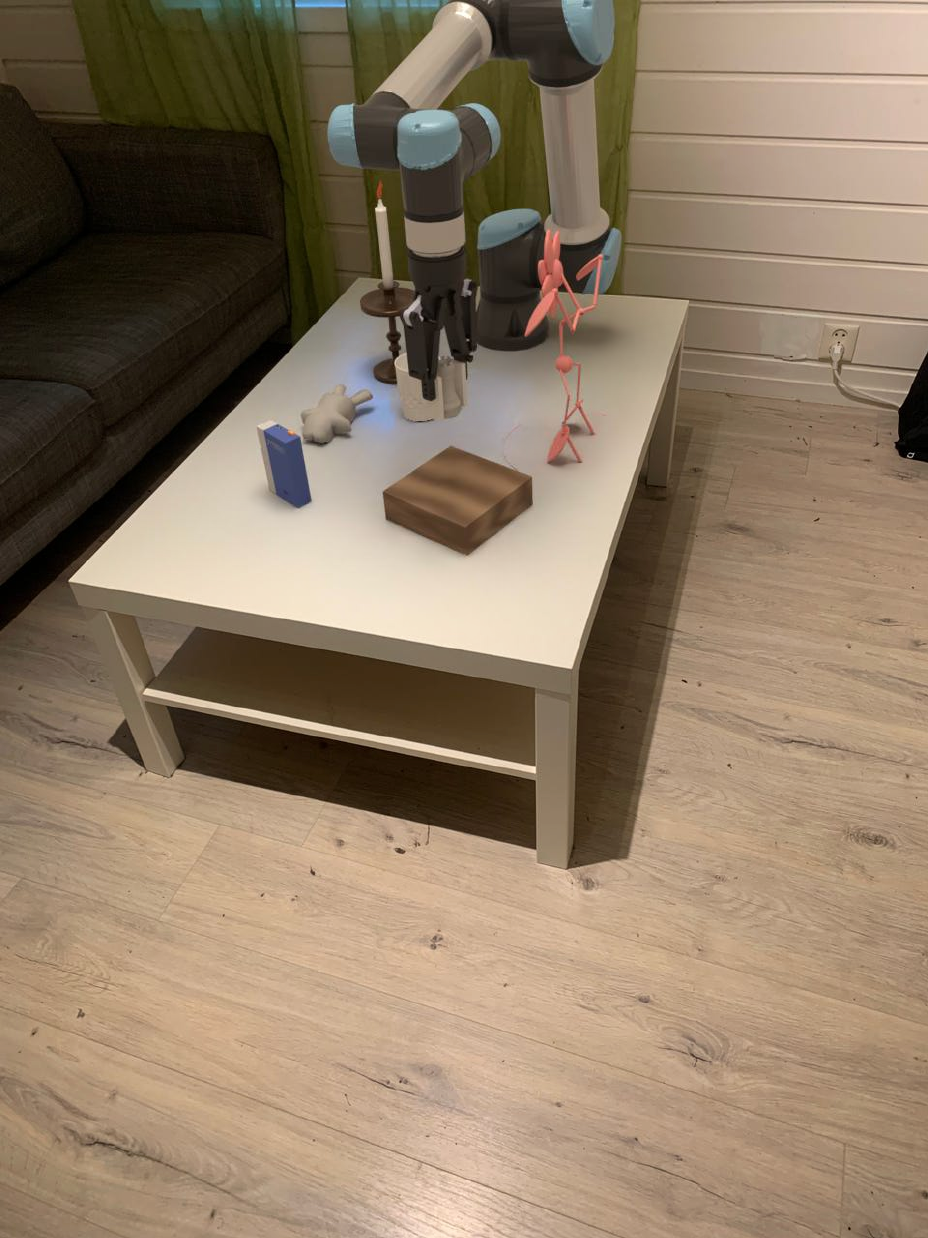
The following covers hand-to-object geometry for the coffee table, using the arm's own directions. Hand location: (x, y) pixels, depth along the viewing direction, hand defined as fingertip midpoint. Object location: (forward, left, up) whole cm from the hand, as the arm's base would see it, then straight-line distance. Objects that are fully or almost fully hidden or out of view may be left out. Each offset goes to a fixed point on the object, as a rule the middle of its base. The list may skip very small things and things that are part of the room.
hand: (447, 410), depth 143 cm
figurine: (-24, 0, -17) cm, 30 cm away
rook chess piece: (0, 0, 0) cm, 0 cm away
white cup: (-20, -24, -17) cm, 36 cm away
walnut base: (0, +1, -17) cm, 17 cm away
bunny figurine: (-8, -34, -17) cm, 39 cm away
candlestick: (-29, -38, -17) cm, 51 cm away
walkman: (+12, -24, -17) cm, 32 cm away
